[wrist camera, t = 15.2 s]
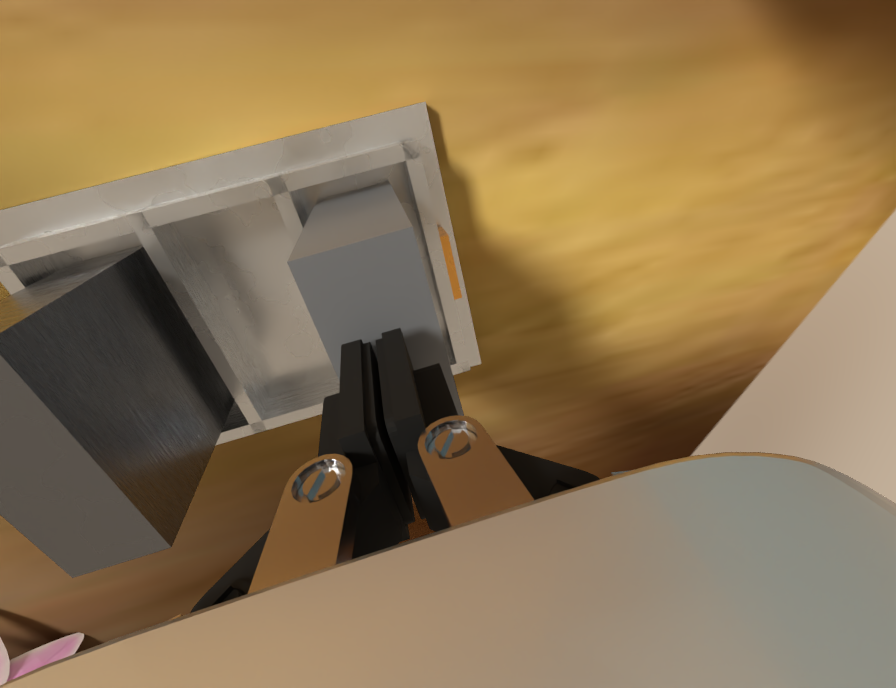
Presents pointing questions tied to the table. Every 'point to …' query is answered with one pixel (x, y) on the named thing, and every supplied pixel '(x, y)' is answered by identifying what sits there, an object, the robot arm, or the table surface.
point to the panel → (367, 278)
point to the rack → (183, 326)
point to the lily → (37, 656)
